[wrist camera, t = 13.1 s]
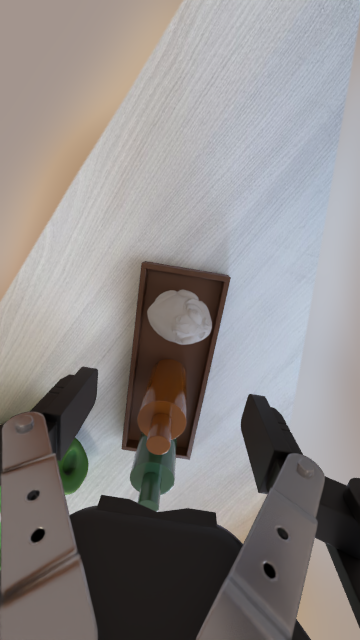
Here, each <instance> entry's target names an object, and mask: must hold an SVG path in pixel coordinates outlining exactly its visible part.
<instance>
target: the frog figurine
mask: <svg viewBox="0 0 360 640" xmlns="http://www.w3.org/2000/svg"><path fill="white" fill-rule="evenodd" d="M147 314H148V319H149V322H150V324H151V326H152V327H153V329H154V330H155V331H156V332H157V333H158V334H159V335H160V336H162V337H163V338H165V339H166V340H168V341H172V342H175V343H178V344H181V345H185V344H193V343H195V342H199V341H201V340H203V339H205V338H206V337H207V336H208V335H209V334H210V332H211V329H212V321H211V317H210V313H209V310H208V308H207V306H206V305H205V304H204V303H203V302H202V301H199V299H198V297H197V296H196V295H195V294H194V293H192V292H190V291H186V290H180V291H178V292H176V291H174V290H170V291H166V292H163V293H162V294H160V295H159V296H158V297H157V298H156V300H155V302H154V303H153V304H152V305H151V306H150V307H149V309H148V311H147Z"/></svg>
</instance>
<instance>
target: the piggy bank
mask: <svg viewBox="0 0 360 640" xmlns="http://www.w3.org/2000/svg"><path fill="white" fill-rule="evenodd" d="M57 462H58V466H59V471H60V475H61V480H62V484H63V488H64V493H65V495H67V494H71V493H74V492H75V491H76V490H77V489H78V488H79V487H80V486H81V484H82V483H83V481H84V479H85V477H86V475H87V472H88V458H87V455H86V453H85V450H84V448H83V447H82V445H81V443H80V442H79V441H78V440H77V439H76V438H74V440H73V441H72V443H71V445H70V446H69V448H68V450H67V452H66V453H65V455H64V457H63V458H62V460H61V461H57ZM0 570H1V486H0Z"/></svg>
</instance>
